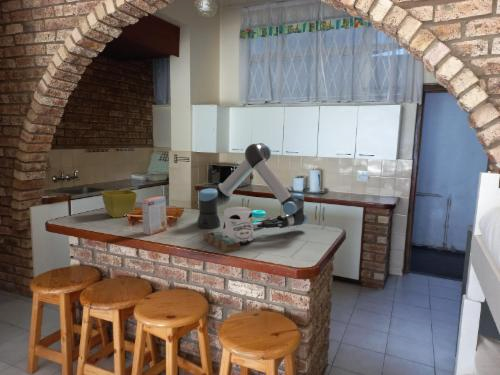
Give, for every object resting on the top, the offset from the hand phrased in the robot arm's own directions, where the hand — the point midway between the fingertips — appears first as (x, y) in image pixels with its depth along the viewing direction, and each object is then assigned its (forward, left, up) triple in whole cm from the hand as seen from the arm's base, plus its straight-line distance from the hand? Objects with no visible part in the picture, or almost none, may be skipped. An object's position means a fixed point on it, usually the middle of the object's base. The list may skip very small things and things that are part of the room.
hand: (251, 226), depth 200 cm
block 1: (-6, -18, -7) cm, 20 cm away
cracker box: (-41, -43, -8) cm, 60 cm away
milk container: (0, -9, -8) cm, 12 cm away
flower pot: (-95, -51, -8) cm, 108 cm away
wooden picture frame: (0, -20, -7) cm, 21 cm away
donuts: (-21, +18, -8) cm, 29 cm away
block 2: (+5, -18, -7) cm, 20 cm away
